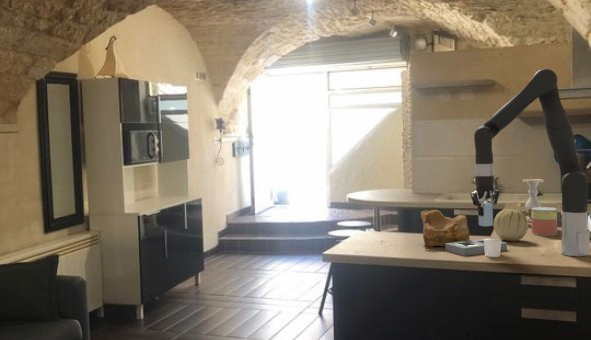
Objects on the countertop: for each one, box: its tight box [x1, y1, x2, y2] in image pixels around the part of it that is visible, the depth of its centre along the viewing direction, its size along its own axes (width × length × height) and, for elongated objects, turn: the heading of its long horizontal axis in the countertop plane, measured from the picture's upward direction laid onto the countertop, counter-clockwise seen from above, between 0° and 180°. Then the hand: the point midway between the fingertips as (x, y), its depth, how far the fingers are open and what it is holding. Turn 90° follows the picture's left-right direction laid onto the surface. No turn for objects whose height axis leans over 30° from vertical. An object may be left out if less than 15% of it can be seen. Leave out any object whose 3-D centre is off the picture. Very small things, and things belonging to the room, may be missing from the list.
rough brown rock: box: [420, 209, 471, 248], centre depth 262 cm, size 23×17×15 cm
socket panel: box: [444, 238, 508, 257], centre depth 249 cm, size 12×22×4 cm, turn 113°
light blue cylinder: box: [477, 201, 494, 227], centre depth 250 cm, size 4×4×10 cm
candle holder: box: [521, 178, 545, 229], centre depth 306 cm, size 11×11×24 cm
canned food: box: [531, 206, 558, 237], centre depth 285 cm, size 11×11×12 cm
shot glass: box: [482, 237, 502, 258], centre depth 238 cm, size 7×7×7 cm
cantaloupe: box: [493, 207, 529, 242], centre depth 269 cm, size 15×15×15 cm
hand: (485, 215), depth 250 cm, fingers closed on light blue cylinder, 4 cm apart
